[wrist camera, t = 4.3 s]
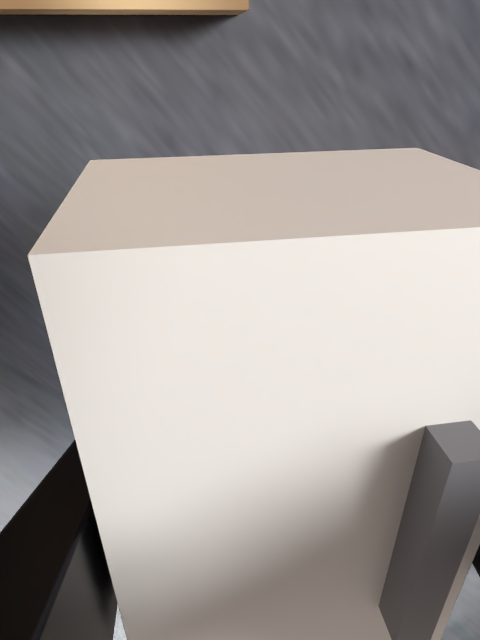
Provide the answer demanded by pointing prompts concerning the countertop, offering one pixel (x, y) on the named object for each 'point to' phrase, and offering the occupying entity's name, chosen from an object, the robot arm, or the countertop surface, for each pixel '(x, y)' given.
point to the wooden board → (123, 7)
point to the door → (274, 387)
